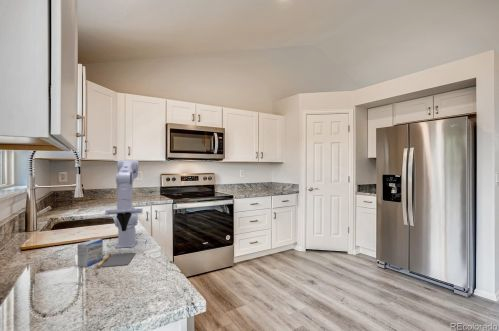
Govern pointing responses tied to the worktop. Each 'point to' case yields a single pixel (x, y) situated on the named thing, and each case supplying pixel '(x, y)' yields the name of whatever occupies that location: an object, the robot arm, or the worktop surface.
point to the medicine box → (90, 252)
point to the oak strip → (103, 261)
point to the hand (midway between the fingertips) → (124, 230)
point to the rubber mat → (119, 260)
